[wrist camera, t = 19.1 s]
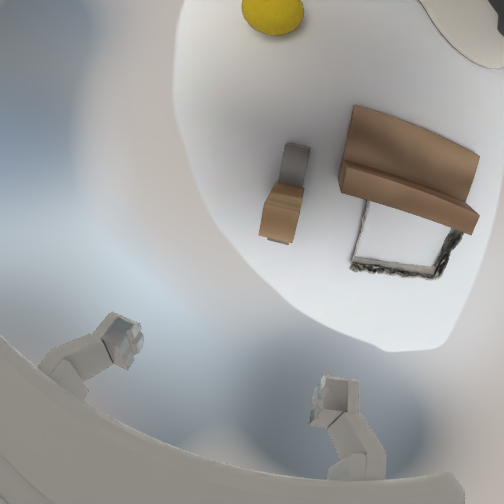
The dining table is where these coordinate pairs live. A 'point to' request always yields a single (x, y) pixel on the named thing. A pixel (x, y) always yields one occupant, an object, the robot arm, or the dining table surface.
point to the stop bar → (408, 169)
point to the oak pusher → (285, 197)
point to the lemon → (273, 15)
